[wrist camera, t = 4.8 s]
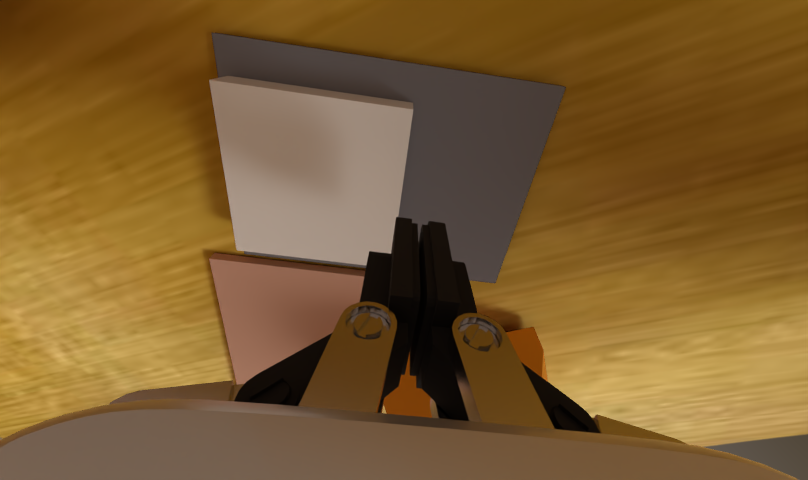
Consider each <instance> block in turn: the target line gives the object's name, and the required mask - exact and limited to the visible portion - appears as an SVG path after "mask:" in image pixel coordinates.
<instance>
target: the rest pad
mask: <svg viewBox="0 0 808 480" xmlns="http://www.w3.org/2000/svg"><path fill="white" fill-rule="evenodd" d="M209 260H210V265H211V269H212V274H213V278H214V283H215V287H216V292H217V297H218V301H219V306H220V310H221V315H222V319H223V324H224V328H225V333H226V337H227V342H228V347H229V351H230V356H231V360H232V365H233V369H234V374H235V378H236V383H237V385H238V384H245V383H246V382H247V381H248V380H249V379H251V378H252V377H254V376H255V375H256V374H258V373H260V372H262V371H264V370H266V369H267V368H269V367H271V366H273V365H275V364H276V363H278V362H280V361H282V360H284V359H286V358H287V357H289V356H291V355H293V354H295V353H296V352H298V351H300V350H302V349H304V348H306V347H307V346H309V345H311V344H313V343H315V342H316V341H318V340H320V339H322V338H324V337H325V336H327V335H329V334H331V333H333V331H334V329H335V326H336V324H337V322H338V320H339V318H340V316H341V314H342V313H343V311H344V310H345V309H346V308H348V307H349V306H351V305H353V304H356V303H358V302H360V297H361V292H362V286H363V281H364V276H365V270H356V269H348V268H339V267H331V266H322V265H314V264H305V263H297V262H288V261H279V260H271V259H262V258H254V257H245V256H237V255H228V254H220V253H214V254H213V255H212V256H211V257H210V258H209Z"/></svg>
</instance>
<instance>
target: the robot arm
mask: <svg viewBox="0 0 808 480" xmlns="http://www.w3.org/2000/svg"><path fill="white" fill-rule="evenodd" d="M409 352H410V376H416V388H422V389H423V390H424V391H425V392H426V393H427V394H428V395H429V396H430V397H431V399H430V409H431V414H432V418H429V417H418V416H406V415H395V414H384V413H382V409H383V404H384V399H385V397H386V396H387V395H389V394H390V393H391V392H392V391H394V390H395V389H396V388H397V387H399V383H400V378H401V375H405V371H406V366H407V362H408V357H409ZM0 480H798V479H797V478H794V477H792V476H789V475H787V474H785V473H782V472H780V471H778V470H776V469H773V468H771V467H769V466H766V465H764V464H760V463H757V462H754V461H751V460H748V459H745V458H742V457H739V456H736V455H733V454H730V453H726V452H721V451H717V450H713V449H708V448H704V447H700V446H695V445H688V444H686V443H684V442H682V441H679V440H677V439H675V438H671V437H668V436H665V435H662V434H658V433H655V432H652V431H649V430H645V429H642V428H639V427H636V426H632V425H629V424H626V423H623V422H620V421H616V420H613V419H610V418H607V417H603V416H600V415H596V416H595V417H594V418H591V417H590V415H589V414H588V413H587V412H586V411H585V410H584V409H583V408H582V407H580V406H579V405H578V404H577V403H575V402H574V401H573V400H571V399H570V398H569V397H567V396H566V395H565V394H563V393H562V392H561V391H559V390H558V389H557V388H555V387H554V386H553V385H551V384H550V383H549V382H547V381H546V380H545V379H543V378H542V377H541V376H539V375H538V374H537V373H535V372H534V371H533V370H531V369H530V368H528V367H527V366H526V365H524V364H523V363H522V362H521V361H520V359H519V357H518V355H517V353H516V351H515V349H514V347H513V345H512V343H511V341H510V339H509V337H508V336H507V334H506V332H505V331H504V329H503V328H502V326H501V325H499V324H498V323H497V322H496V321H495V320H493V319H491V318H489V317H488V316H485V315H482V314H477V309H476V305H475V301H474V297H473V293H472V289H471V285H470V281H469V277H468V273H467V269H466V265H465V263H464V262H457V261H452V257H451V251H450V246H449V241H448V236H447V230H446V225H445V223H441V222H434V221H429V222H428V225H424V224H422V227H421V232H420V237H419V242H418V224H416V223H412V219H410V218H402V217H396V220H395V228H394V235H393V242H392V250H391V254H390V253H381V252H373V251H369V255H368V260H367V265H366V271H365V276H364V281H363V286H362V292H361V297H360V302H358V303H356V304H353V305H351V306H349V307H348V308H346V309H345V310H344V311H343V313H342V314H341V316H340V318H339V320H338V322H337V324H336V326H335V329H334V331H333V333H331V334H329V335H327V336H325V337H324V338H322V339H320V340H318V341H316V342H315V343H313V344H311V345H309V346H307V347H306V348H304V349H302V350H300V351H298V352H296V353H295V354H293V355H291V356H289V357H287V358H286V359H284V360H282V361H280V362H278V363H276V364H275V365H273V366H271V367H269V368H267V369H266V370H264V371H262V372H260V373H258V374H256V375H255V376H254V377H252V378H251V379H249V380H248V381H247V382H246V383H245V384H238V385H234V384H233V380H232V381H223V382H214V383H205V384H195V385H186V386H177V387H168V388H159V389H150V390H141V391H137V392H133V393H129V394H126V395H124V396H122V397H120V398H118V399H116V400H114V401H112V402H111V403H110V404H109V405H103V406H99V407H95V408H90V409H86V410H82V411H78V412H73V413H69V414H65V415H62V416H59V417H56V418H52V419H49V420H46V421H43V422H41V423H38V424H35V425H33V426H30V427H27V428H25V429H22V430H20V431H18V432H16V433H14V434H12V435H10V436H8V437H6V438H4V439H2V440H0Z"/></svg>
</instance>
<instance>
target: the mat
mask: <svg viewBox="0 0 808 480" xmlns="http://www.w3.org/2000/svg"><path fill="white" fill-rule="evenodd" d="M212 39H213V45H214V52H215V59H216V66H217V72H218V78H220V77H225V76H234V77H241V78H248V79H254V80H261V81H268V82H275V83H282V84H288V85H295V86H302V87H309V88H316V89H323V90H329V91H336V92H343V93H350V94H357V95H364V96H370V97H377V98H384V99H391V100H398V101H405V102H411V103H413V116H412V123H411V130H410V137H409V144H408V151H407V158H406V166H405V173H404V180H403V187H402V194H401V201H400V208H399V215H398V217H402V218H410V219H412V223H416V224H418V242H419V237H420V232H421V227H422V224H424V225H428V222H429V221H434V222H441V223H445V225H446V230H447V236H448V241H449V246H450V251H451V257H452V261H457V262H464V263H465V265H466V269H467V273H468V277H469V280H472V281H480V282H489V283H496V280H497V277H498V274H499V272H500V269H501V266H502V263H503V260H504V258H505V255H506V252H507V249H508V247H509V244H510V241H511V238H512V235H513V233H514V230H515V227H516V224H517V222H518V219H519V216H520V213H521V211H522V208H523V205H524V202H525V199H526V197H527V194H528V191H529V188H530V186H531V183H532V180H533V177H534V174H535V172H536V169H537V166H538V163H539V161H540V158H541V155H542V152H543V149H544V147H545V144H546V141H547V138H548V136H549V133H550V130H551V127H552V125H553V122H554V119H555V116H556V113H557V111H558V108H559V105H560V102H561V100H562V97H563V94H564V91H565V88H566V87H564V86H559V85H553V84H546V83H540V82H533V81H527V80H520V79H514V78H507V77H501V76H494V75H488V74H481V73H475V72H468V71H462V70H455V69H449V68H442V67H436V66H429V65H423V64H416V63H409V62H403V61H396V60H390V59H383V58H377V57H370V56H364V55H357V54H351V53H344V52H338V51H331V50H325V49H318V48H312V47H305V46H299V45H292V44H286V43H279V42H273V41H266V40H259V39H253V38H246V37H240V36H233V35H227V34H220V33H212ZM244 254H251V255H259V256H268V257H276V258H285V259H293V260H302V261H310V262H319V263H327V264H336V265H344V266H353V267H361V268H366V265H358V264H349V263H341V262H332V261H324V260H315V259H307V258H298V257H290V256H281V255H273V254H264V253H256V252H247V251H244Z"/></svg>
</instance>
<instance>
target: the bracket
mask: <svg viewBox="0 0 808 480" xmlns="http://www.w3.org/2000/svg"><path fill="white" fill-rule="evenodd" d="M506 334H507V336H508V337H509V339H510V341H511V343H512V345H513V347H514V349H515V351H516V353H517V355H518V357H519V359H520V361H521V362H522V363H523V364H524V365H526V366H527V367H528V368H530V369H531V370H533V371H534V372H535V373H537V374H538V375H539V376H541V377H542V378H543V379H545V380H546V381H547V382H548V380H547V373H546V366H545V359H544V352H543V348H542V346H541V344H540V341H539V339H538V336H537V334H536V332H535V329H534V327H530V328H525V329H520V330H515V331H510V332H506ZM430 399H431V397H430V396H429V395H428V394H427V393H426V392H425V391H424V390H423V389H422V388H416V376H410V352H409V357H408V362H407V366H406V371H405V375H401V378H400V383H399V387H397V388H396V389H395V390H394V391H392V392H391V393H390V394H389V395H387V396H386V397H385V399H384V406H385V410H386V413H387V414H395V415H406V416H418V417H429V418H432V414H431V409H430Z"/></svg>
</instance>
